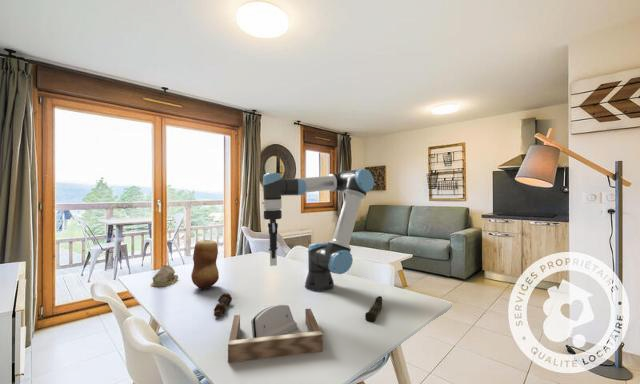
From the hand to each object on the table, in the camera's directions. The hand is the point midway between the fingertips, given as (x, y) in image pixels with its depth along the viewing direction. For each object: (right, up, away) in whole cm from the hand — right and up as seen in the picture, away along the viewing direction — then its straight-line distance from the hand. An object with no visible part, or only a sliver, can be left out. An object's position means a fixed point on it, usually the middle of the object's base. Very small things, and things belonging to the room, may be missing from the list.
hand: (273, 265), depth 120 cm
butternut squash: (-40, -19, +28) cm, 53 cm away
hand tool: (+42, -19, -4) cm, 46 cm away
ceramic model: (-67, -20, +37) cm, 79 cm away
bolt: (-21, -19, -2) cm, 29 cm away
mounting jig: (+5, -18, -25) cm, 31 cm away
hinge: (+4, -19, -21) cm, 28 cm away
